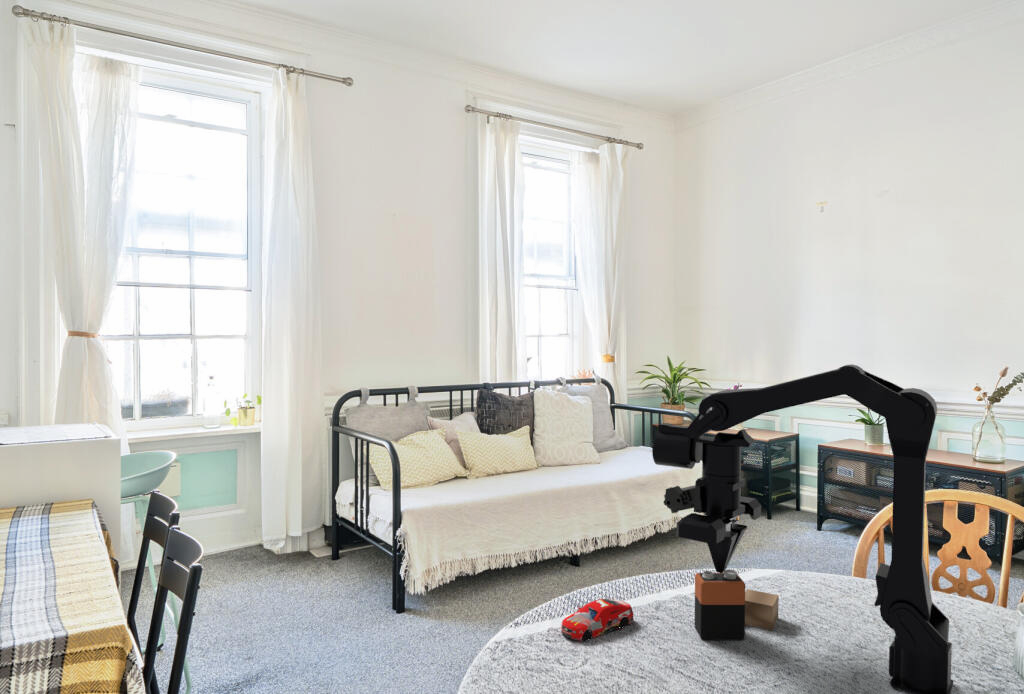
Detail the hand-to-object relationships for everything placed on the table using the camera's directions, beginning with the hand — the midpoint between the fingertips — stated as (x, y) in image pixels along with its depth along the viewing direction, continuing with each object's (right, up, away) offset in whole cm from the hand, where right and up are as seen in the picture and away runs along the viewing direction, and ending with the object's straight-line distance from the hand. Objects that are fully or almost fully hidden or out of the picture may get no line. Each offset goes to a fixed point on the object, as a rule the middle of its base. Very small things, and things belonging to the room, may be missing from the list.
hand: (720, 571), depth 106 cm
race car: (-19, -10, +3) cm, 22 cm away
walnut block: (+8, -10, +5) cm, 14 cm away
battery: (0, -10, +1) cm, 10 cm away
